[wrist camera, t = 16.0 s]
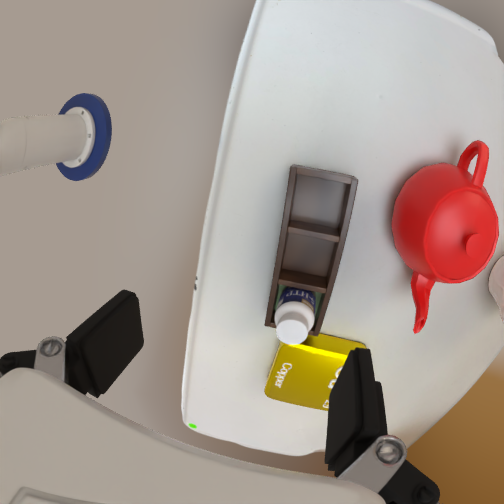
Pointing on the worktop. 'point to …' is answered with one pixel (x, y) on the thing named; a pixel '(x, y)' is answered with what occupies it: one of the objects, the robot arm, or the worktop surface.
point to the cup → (498, 284)
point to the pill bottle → (295, 315)
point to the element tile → (308, 370)
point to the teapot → (445, 225)
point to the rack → (312, 236)
